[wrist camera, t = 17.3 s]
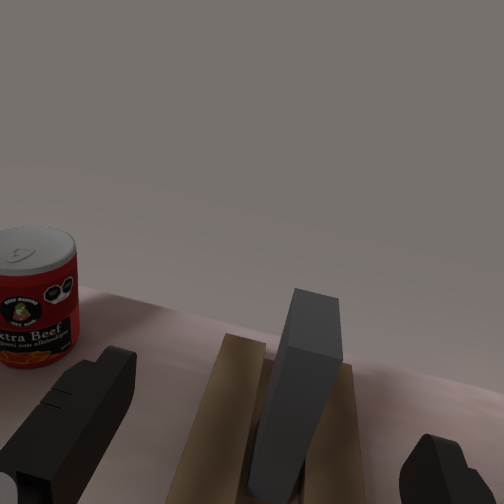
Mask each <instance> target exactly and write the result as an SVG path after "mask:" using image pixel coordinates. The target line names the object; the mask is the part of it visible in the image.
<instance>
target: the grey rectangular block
mask: <svg viewBox="0 0 504 504" xmlns="http://www.w3.org/2000/svg"><path fill="white" fill-rule="evenodd" d="M342 361H343V352H342V339H341V326H340V312H339V299H338V298H333V297H330V296H325V295H321V294H317V293H313V292H309V291H304V290H301V289H297V288H295V290H294V293H293V297H292V301H291V304H290V308H289V311H288V315H287V319H286V322H285V326H284V330H283V333H282V337H281V340H280V344H279V348H278V351H277V355H276V358H275V362H274V366H273V369H272V373H271V376H270V380H269V384H268V387H267V391H266V394H265V398H264V402H263V405H262V409H261V413H260V416H259V420H258V423H257V428H256V434H255V440H254V445H253V451H252V457H251V462H250V468H249V474H248V479H247V485H246V490H245V495H246V496H249V497H253V498H256V499H260V500H264V501H267V502H271V503H274V504H287V503H288V500H289V498H290V495H291V493H292V490H293V487H294V485H295V482H296V480H297V477H298V475H299V472H300V469H301V467H302V464H303V462H304V459H305V457H306V454H307V451H308V449H309V446H310V444H311V441H312V439H313V436H314V433H315V431H316V428H317V426H318V423H319V421H320V418H321V415H322V413H323V410H324V408H325V405H326V403H327V400H328V397H329V395H330V392H331V390H332V387H333V384H334V382H335V379H336V377H337V374H338V372H339V369H340V366H341V364H342Z"/></svg>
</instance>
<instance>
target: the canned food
mask: <svg viewBox="0 0 504 504" xmlns="http://www.w3.org/2000/svg"><path fill="white" fill-rule="evenodd" d="M79 330H80V327H79V299H78V272H77V252H76V245H75V240H74V239H73V237H72V236H70V235H69V234H68V233H66V232H64V231H62V230H59V229H55V228H50V227H42V226H23V227H15V228H10V229H5V230H1V231H0V362H2V363H3V364H5V365H7V366H9V367H14V368H22V369H27V368H36V367H41V366H44V365H47V364H50V363H53V362H55V361H57V360H59V359H60V358H62V357H63V356H65V355H66V354H67V353H68V352H69V351H70V350H71V349H72V348H73V347H74V345H75V343H76V341H77V338H78V335H79Z"/></svg>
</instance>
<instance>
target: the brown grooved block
mask: <svg viewBox="0 0 504 504" xmlns="http://www.w3.org/2000/svg"><path fill="white" fill-rule="evenodd" d="M265 348H266V343H263V342H259V341H255V340H251V339H247V338H243V337H239V336H235V335H231V334H227V333H226V334H225V337H224V340H223V342H222V345H221V348H220V351H219V354H218V356H217V359H216V362H215V365H214V368H213V370H212V373H211V376H210V379H209V382H208V384H207V387H206V390H205V393H204V396H203V398H202V401H201V404H200V407H199V410H198V412H197V415H196V418H195V421H194V424H193V426H192V429H191V432H190V435H189V438H188V440H187V443H186V446H185V449H184V452H183V454H182V457H181V460H180V463H179V466H178V468H177V471H176V474H175V477H174V480H173V482H172V485H171V488H170V491H169V494H168V496H167V499H166V502H165V504H274V503H271V502H267V501H264V500H260V499H256V498H253V497H249V496H246V495H245V490H246V485H247V479H248V474H249V468H250V462H251V457H252V451H253V445H254V440H255V434H256V428H257V423H258V420H259V416H260V413H261V409H262V405H263V402H264V398H265V394H266V391H267V387H268V384H269V380H270V376H271V373H272V369H273V366H274V362H275V361H272V360H268V359H264V353H265ZM287 504H366V501H365V492H364V482H363V472H362V462H361V452H360V443H359V433H358V423H357V413H356V403H355V394H354V384H353V374H352V365H349V364H346V363H342V364H341V366H340V369H339V372H338V374H337V377H336V379H335V382H334V384H333V387H332V390H331V392H330V395H329V397H328V400H327V403H326V405H325V408H324V410H323V413H322V415H321V418H320V421H319V423H318V426H317V428H316V431H315V433H314V436H313V439H312V441H311V444H310V446H309V449H308V451H307V454H306V457H305V459H304V462H303V464H302V467H301V469H300V472H299V475H298V477H297V480H296V482H295V485H294V487H293V490H292V493H291V495H290V498H289V500H288V503H287Z"/></svg>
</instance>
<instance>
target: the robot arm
mask: <svg viewBox="0 0 504 504" xmlns="http://www.w3.org/2000/svg"><path fill="white" fill-rule="evenodd" d="M136 361H137V354H136V352H132V351H129V350H125V349H121V348H118V347H114V346H108V347H107V348H106V349H105V350H104V351H103V353H102V354H101V355H100V357H99V358H98V359H97V361H96V362H91V361H88V360H82V361H80V362H79V363H77V364H76V365H74V366H73V367H71V368H70V369H68V370H66V371H65V372H64V373H63V374H62V376H61V377H60V378H59V379H58V381H57V382H56V383H55V384H54V385H53V387H52V388H51V391H49V392H48V393H47V394H46V395H45V397H44V398H43V399H42V400H41V401H40V404H39V405H37V406H36V408H35V409H34V410H33V411H32V412H31V414H30V415H29V416H28V417H27V419H26V420H25V421H24V422H23V424H22V425H21V426H20V427H19V428H18V430H17V431H16V432H15V433H14V435H13V436H12V437H11V438H10V439H9V441H8V442H7V443H6V444H5V446H4V447H3V448H2V449H1V451H0V504H77V503H78V501H79V499H80V497H81V495H82V493H83V492H84V490H85V488H86V486H87V484H88V482H89V481H90V479H91V477H92V475H93V473H94V471H95V470H96V468H97V466H98V464H99V462H100V460H101V459H102V457H103V455H104V453H105V451H106V450H107V448H108V446H109V444H110V442H111V440H112V439H113V437H114V435H115V433H116V431H117V429H118V428H119V426H120V424H121V422H122V420H123V418H124V417H125V415H126V413H127V411H128V409H129V406H130V404H131V401H132V398H133V394H134V389H135V375H136ZM399 491H400V497H401V502H402V504H496V501H495V498H494V496H493V493H492V492H491V490H490V489H489V487H488V486H487V485H486V483H485V482H484V480H483V479H482V478H481V476H480V475H479V473H478V472H477V470H475V469H471V468H468V466H467V463H466V460H465V458H464V455H463V452H462V450H461V447H460V446H459V444H458V443H457V442H455V441H451V440H448V439H444V438H441V437H437V436H433V435H430V434H424V435H423V436H422V437H421V439H420V440H419V442H418V443H417V445H416V446H415V448H414V449H413V451H412V452H411V454H410V455H409V457H408V458H407V460H406V461H405V463H404V464H403V466H402V468H401V472H400V477H399Z"/></svg>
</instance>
